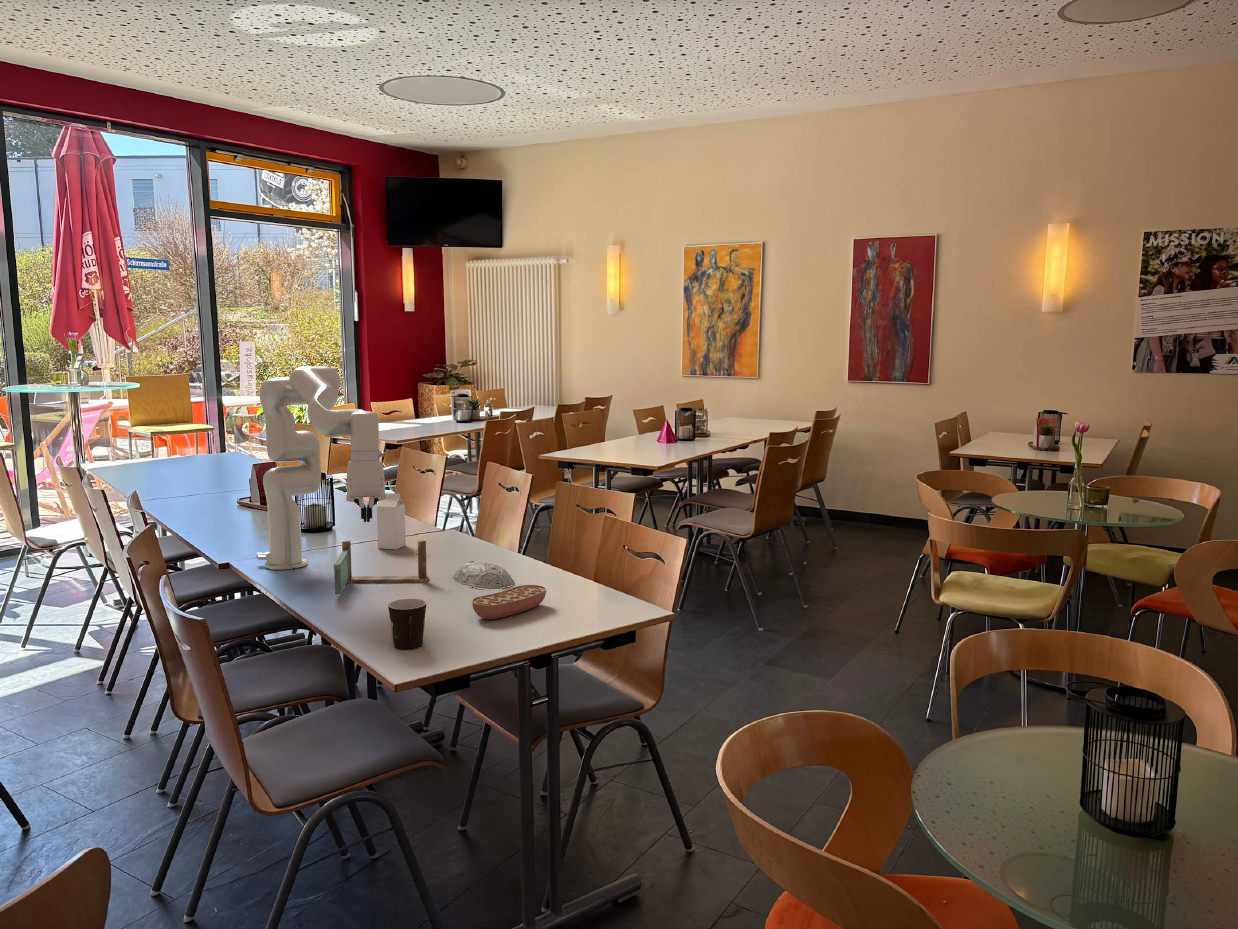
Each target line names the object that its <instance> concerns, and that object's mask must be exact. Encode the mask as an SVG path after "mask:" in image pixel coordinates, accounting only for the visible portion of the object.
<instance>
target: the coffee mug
mask: <svg viewBox="0 0 1238 929" xmlns="http://www.w3.org/2000/svg"><path fill="white" fill-rule="evenodd" d="M387 608H388V615H389V622H390V627H391V628H390V629H391V635H392V642H393V648H394V649H395V650H398V651H413V650H417V649H419V648H421V647H422V646H423V641H424V640H423V639H424V633H425V632H424V630H425V629H424V628H425V624H426V623H425V622H426V612H427V601H425V600H424V599H420V598H401V599H395V600H393V601H390V602H389V603H387Z"/></svg>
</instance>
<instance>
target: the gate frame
mask: <svg viewBox="0 0 1238 929" xmlns="http://www.w3.org/2000/svg"><path fill="white" fill-rule="evenodd" d="M351 544H352V543H351V540H344V541H341V550H342V551H343V550H349V579H348V580H347V582H346V584H383V583H384V584H386V583H387V582H388V583H387V584H389V582H424V583H428V582H429V579H430V578H429V576H430V575H428V574H427V570H428V569H427V540H424V539H423V540H422V539H421V540H418V541H417V574H418V575H373V576H372V575H371V576H370V575H368V576H365V575H364V576H363V575H360V576H359V575H355V576H353V575H352V552H351V551H352V548H351V547H352V546H351ZM342 551H341V552H342Z"/></svg>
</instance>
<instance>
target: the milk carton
mask: <svg viewBox="0 0 1238 929" xmlns="http://www.w3.org/2000/svg"><path fill="white" fill-rule="evenodd" d="M385 495H386V499H385V500H382V501H378V502H377V503H376V527H377V528H376V529H377V530H376V531H377V532H376V533H377V534H376V536H377V549H385V550H399V549H401V548H402V547H404V546H406V544H407V543H406V511H405V510H406V508H405V507H406V506H405V505H406V504H405V502H404V500H403V499H402V497H401V493H391V492H390V493H389V492H388V493H387V492H385Z"/></svg>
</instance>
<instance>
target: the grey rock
mask: <svg viewBox="0 0 1238 929" xmlns="http://www.w3.org/2000/svg"><path fill="white" fill-rule="evenodd" d="M451 579H452V580H453V579H454V580H453V581H454V582H456V581H457V582H456V583H458V582H459V583H458V584H460V583H461V584H460V585H462V584H463V585H462V586H464V585H465V586H464V587H466V586H467V587H466V588H472V587H473V588H472V589H477V590H481V589H500V588H503V587H508V586H511V585H513V586H514V585H515V584H514V582H515V580H514V579H513V577H512V576H511V575H510V573H509V572H507V570H506V569H505V568H504V567H502V566H499V565H496V564H493V563H489V562H487V561H475V560H473V559H472V560H469V562H466V563H463V564H462V565H460V566H459V567H458V568H457V569H456V570H455V572H454V574H453V575H452V576H451ZM511 587H512V586H511ZM508 588H509V587H508ZM500 590H501V589H500Z"/></svg>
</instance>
